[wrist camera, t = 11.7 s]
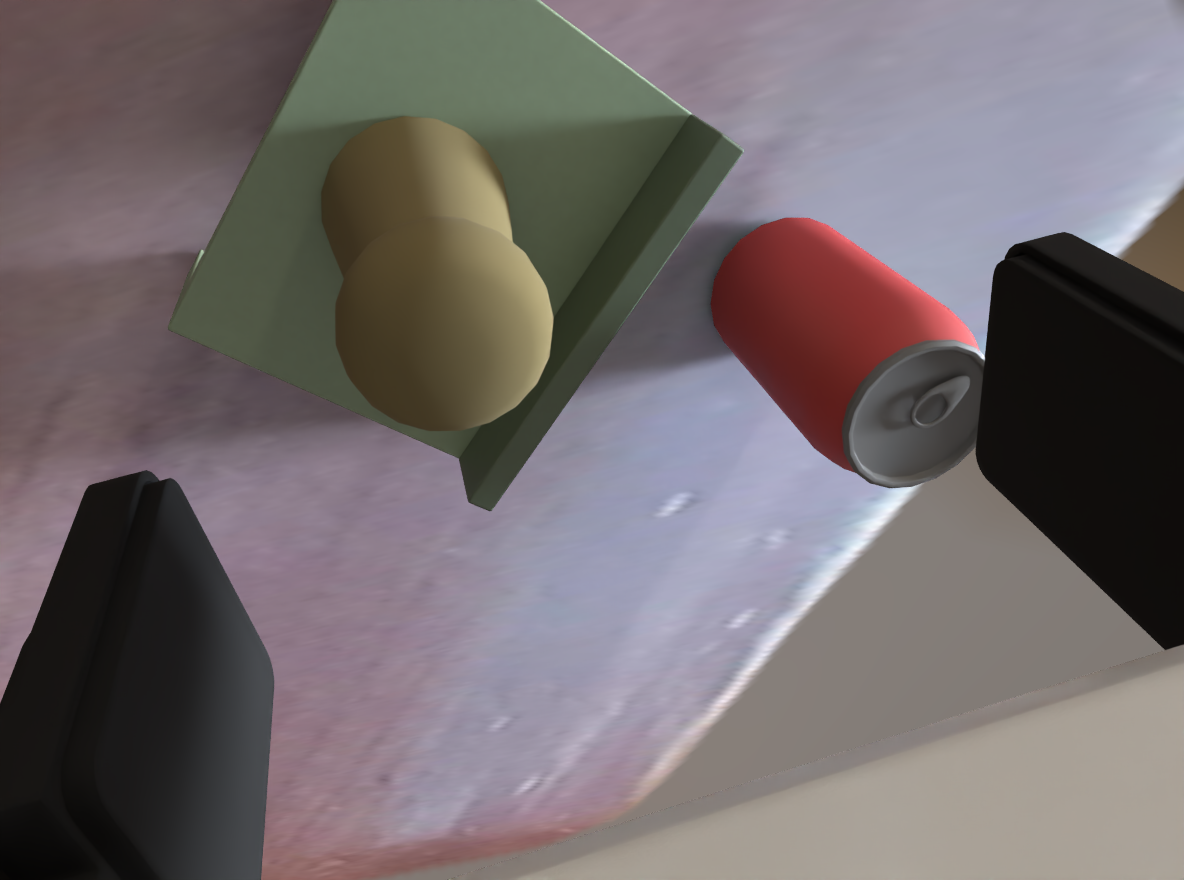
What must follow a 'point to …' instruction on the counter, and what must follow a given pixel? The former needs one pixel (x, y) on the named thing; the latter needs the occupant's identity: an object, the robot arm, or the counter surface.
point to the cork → (432, 278)
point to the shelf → (531, 177)
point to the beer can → (851, 352)
